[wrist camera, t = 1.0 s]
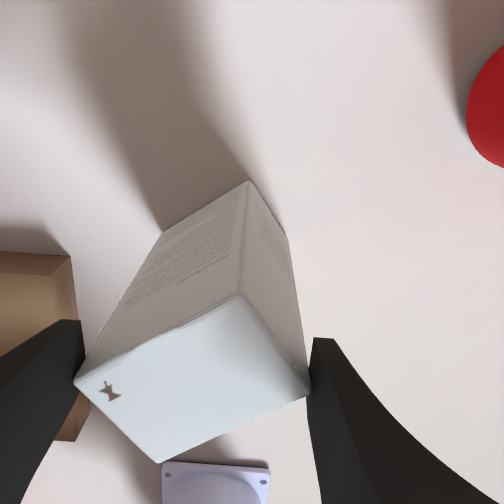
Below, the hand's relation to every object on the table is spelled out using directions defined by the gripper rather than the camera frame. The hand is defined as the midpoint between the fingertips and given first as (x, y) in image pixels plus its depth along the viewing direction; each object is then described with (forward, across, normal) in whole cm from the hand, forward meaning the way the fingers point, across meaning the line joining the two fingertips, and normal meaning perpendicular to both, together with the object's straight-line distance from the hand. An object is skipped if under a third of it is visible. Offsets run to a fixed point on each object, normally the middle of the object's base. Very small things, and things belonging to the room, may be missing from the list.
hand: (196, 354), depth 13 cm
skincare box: (+11, 0, 0) cm, 11 cm away
